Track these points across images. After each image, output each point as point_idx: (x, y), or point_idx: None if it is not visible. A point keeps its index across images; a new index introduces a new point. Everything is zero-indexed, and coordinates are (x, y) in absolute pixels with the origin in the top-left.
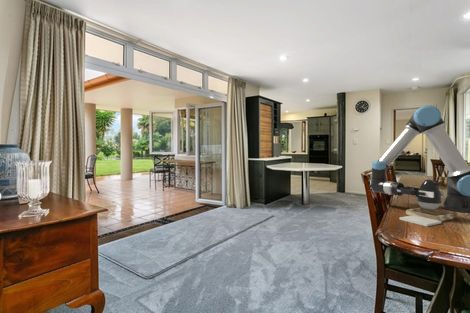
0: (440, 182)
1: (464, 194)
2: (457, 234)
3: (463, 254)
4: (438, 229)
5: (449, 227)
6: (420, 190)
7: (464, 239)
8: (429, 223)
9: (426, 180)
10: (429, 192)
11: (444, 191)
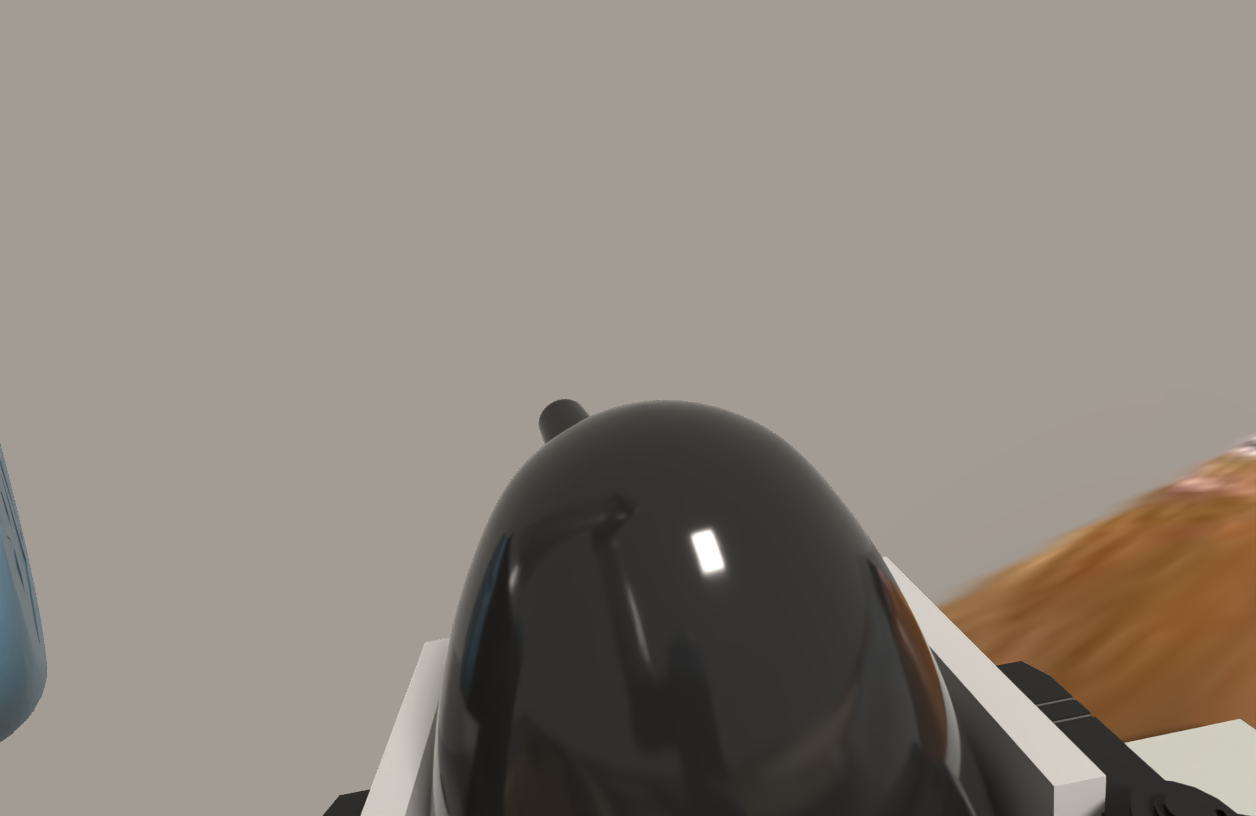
0: (585, 413)
1: (13, 730)
2: (1039, 589)
3: (1236, 452)
4: (1138, 667)
5: None
6: (989, 808)
7: (1066, 540)
8: (1183, 735)
9: (759, 434)
10: (920, 603)
11: (446, 645)
